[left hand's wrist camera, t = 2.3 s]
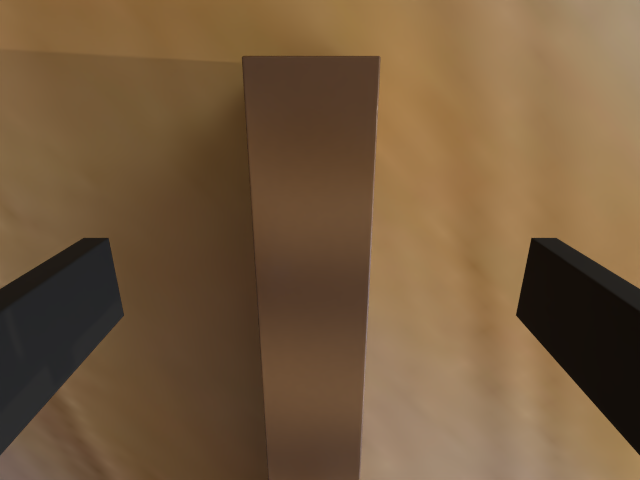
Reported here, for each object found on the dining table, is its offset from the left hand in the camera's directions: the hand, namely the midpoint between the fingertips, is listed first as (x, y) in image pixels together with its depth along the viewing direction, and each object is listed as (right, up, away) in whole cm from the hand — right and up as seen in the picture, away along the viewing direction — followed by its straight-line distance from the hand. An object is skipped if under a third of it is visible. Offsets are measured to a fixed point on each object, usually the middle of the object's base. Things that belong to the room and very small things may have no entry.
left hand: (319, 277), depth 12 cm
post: (0, -24, +21) cm, 32 cm away
